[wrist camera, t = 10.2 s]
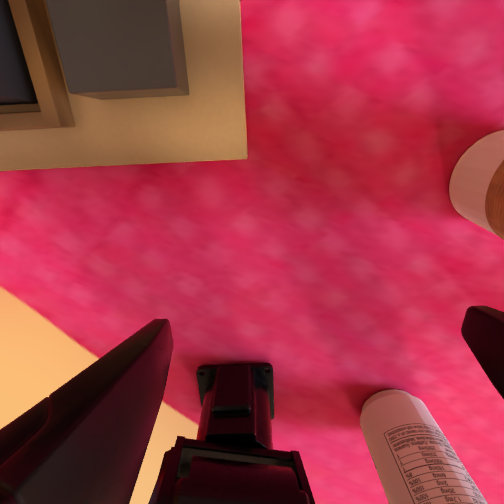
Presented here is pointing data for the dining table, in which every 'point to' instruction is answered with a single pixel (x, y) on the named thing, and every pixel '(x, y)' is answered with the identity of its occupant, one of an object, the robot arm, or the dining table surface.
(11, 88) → the dark rectangular block
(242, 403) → the robot arm
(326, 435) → the dining table surface
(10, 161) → the backing board
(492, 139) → the coffee cup
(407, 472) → the energy drink can
